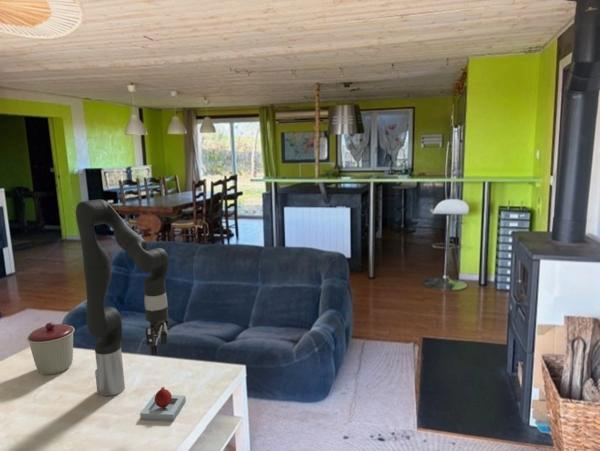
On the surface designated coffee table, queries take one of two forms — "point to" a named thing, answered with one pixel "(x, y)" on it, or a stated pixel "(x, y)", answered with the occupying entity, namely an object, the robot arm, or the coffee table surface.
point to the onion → (163, 398)
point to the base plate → (163, 409)
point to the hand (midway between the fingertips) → (159, 349)
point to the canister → (52, 347)
